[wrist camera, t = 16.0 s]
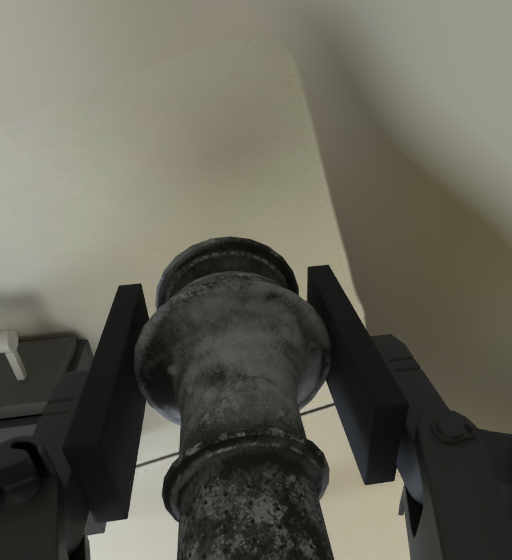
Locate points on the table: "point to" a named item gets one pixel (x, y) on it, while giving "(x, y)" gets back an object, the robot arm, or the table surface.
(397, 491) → the table surface
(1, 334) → the drawer
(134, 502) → the table surface
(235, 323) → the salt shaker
